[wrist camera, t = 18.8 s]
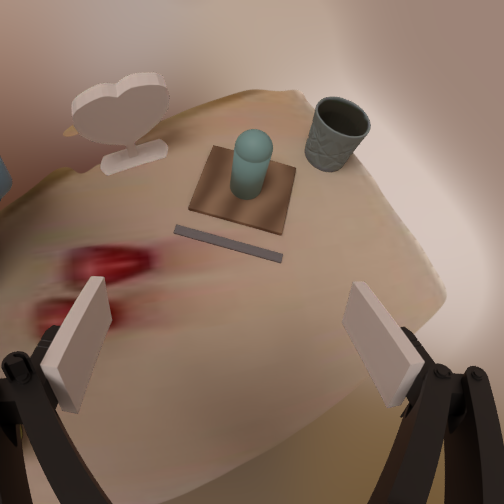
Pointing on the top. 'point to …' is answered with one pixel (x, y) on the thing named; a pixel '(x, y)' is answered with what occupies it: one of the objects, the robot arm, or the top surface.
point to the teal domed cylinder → (250, 163)
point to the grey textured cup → (335, 133)
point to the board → (238, 210)
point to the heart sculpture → (123, 118)
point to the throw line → (228, 243)
